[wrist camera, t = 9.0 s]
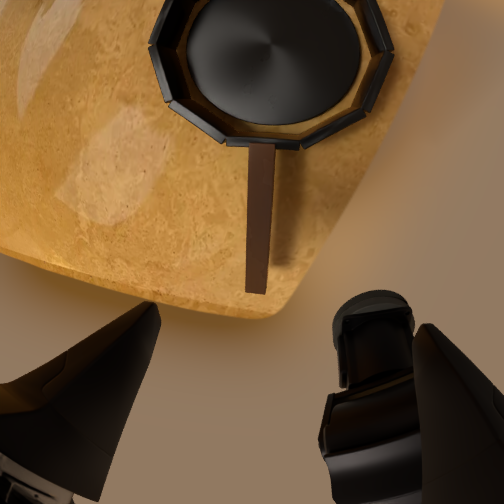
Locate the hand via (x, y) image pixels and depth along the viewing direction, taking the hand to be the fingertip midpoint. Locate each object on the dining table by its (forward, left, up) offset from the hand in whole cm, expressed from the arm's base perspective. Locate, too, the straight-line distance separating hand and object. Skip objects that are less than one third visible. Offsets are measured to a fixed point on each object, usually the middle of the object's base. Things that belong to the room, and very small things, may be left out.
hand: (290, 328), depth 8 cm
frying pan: (+1, -6, -12) cm, 13 cm away
